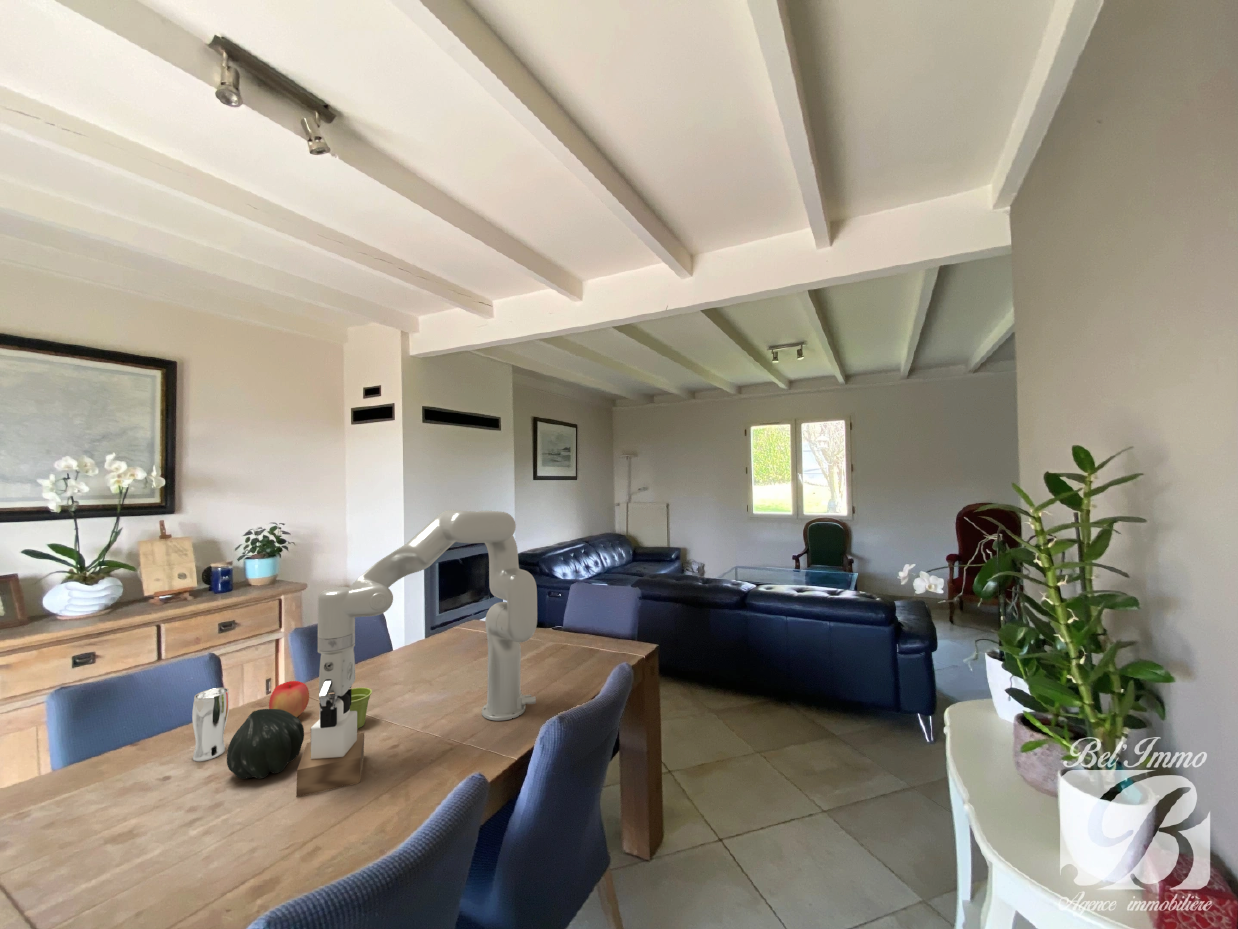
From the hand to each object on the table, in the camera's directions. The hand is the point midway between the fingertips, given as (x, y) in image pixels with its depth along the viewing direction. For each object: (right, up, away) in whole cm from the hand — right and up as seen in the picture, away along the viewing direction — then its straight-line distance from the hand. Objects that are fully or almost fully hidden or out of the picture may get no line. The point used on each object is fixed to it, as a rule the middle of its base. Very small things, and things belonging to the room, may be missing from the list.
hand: (336, 716), depth 111 cm
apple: (-29, -15, +25) cm, 41 cm away
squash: (-17, -13, +1) cm, 22 cm away
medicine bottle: (0, -8, -1) cm, 8 cm away
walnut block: (0, -13, -1) cm, 13 cm away
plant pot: (-8, -14, +22) cm, 27 cm away
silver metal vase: (-36, -14, +7) cm, 39 cm away
